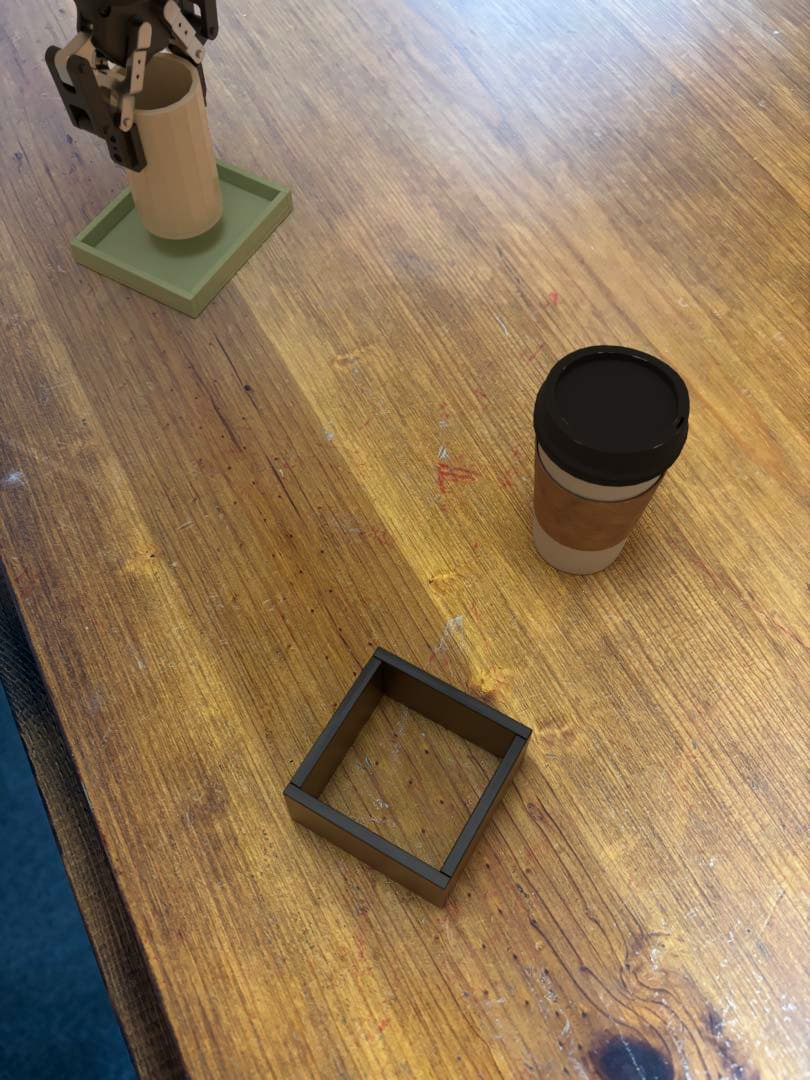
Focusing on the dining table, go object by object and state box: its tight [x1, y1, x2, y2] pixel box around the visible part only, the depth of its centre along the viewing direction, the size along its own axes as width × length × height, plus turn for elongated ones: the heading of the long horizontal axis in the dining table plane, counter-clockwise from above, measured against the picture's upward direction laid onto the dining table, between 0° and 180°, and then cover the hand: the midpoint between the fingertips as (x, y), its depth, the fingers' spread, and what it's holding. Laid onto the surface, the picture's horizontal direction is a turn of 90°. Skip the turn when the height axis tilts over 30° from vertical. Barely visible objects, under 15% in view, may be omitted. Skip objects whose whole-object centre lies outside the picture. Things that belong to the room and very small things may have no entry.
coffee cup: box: [531, 344, 691, 576], centre depth 63 cm, size 8×8×15 cm
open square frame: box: [282, 645, 534, 910], centre depth 59 cm, size 10×10×5 cm
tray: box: [69, 156, 294, 319], centre depth 82 cm, size 13×11×2 cm
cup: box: [110, 51, 223, 240], centre depth 76 cm, size 6×6×11 cm
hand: (162, 135), depth 75 cm, fingers closed on cup, 6 cm apart
